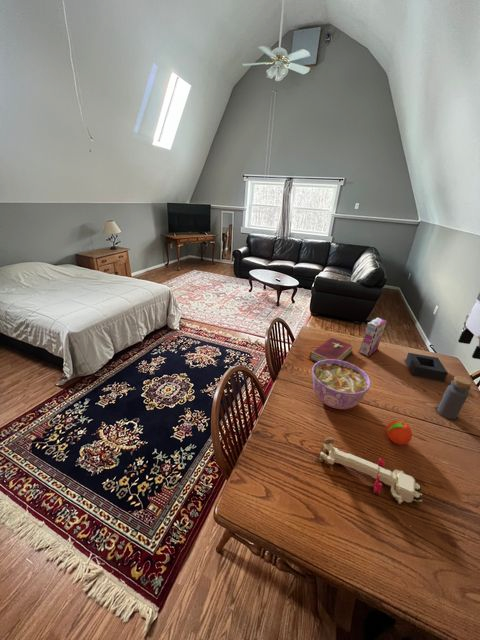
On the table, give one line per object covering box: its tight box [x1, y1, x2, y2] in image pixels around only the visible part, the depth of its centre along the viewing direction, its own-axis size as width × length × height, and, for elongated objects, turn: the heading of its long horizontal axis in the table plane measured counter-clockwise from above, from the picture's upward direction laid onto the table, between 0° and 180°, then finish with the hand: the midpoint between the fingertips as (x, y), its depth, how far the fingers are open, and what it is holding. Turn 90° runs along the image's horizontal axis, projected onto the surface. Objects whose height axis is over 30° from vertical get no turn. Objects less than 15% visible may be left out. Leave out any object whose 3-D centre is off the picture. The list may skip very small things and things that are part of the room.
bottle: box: [436, 375, 473, 420], centre depth 93 cm, size 6×6×15 cm
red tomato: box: [385, 420, 413, 446], centre depth 83 cm, size 8×7×7 cm
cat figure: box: [318, 436, 423, 505], centre depth 71 cm, size 10×9×25 cm
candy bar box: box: [358, 317, 387, 357], centre depth 130 cm, size 11×5×16 cm, turn 133°
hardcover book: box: [309, 336, 355, 363], centre depth 127 cm, size 12×21×4 cm, turn 137°
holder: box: [405, 352, 449, 382], centre depth 119 cm, size 12×12×4 cm
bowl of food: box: [311, 359, 372, 410], centre depth 98 cm, size 20×20×12 cm
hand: (470, 350), depth 84 cm, fingers open, 9 cm apart
